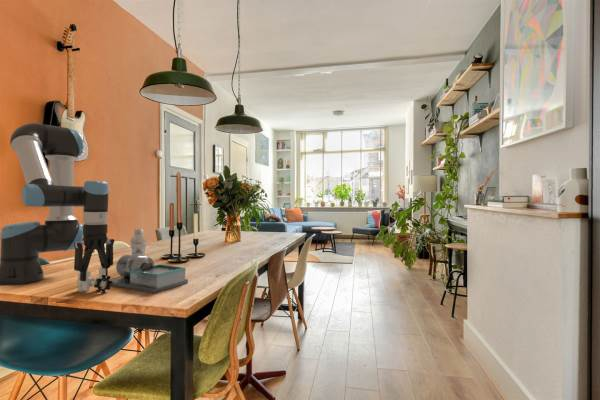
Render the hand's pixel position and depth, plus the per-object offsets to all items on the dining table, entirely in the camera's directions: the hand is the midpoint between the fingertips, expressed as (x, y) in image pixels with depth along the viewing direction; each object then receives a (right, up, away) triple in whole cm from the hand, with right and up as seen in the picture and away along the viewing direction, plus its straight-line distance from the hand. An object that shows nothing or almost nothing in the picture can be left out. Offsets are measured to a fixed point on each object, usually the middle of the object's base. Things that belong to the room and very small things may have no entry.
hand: (93, 287), depth 116 cm
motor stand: (+13, -2, +13) cm, 18 cm away
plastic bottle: (+1, -2, +30) cm, 30 cm away
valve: (-1, -2, 0) cm, 2 cm away
